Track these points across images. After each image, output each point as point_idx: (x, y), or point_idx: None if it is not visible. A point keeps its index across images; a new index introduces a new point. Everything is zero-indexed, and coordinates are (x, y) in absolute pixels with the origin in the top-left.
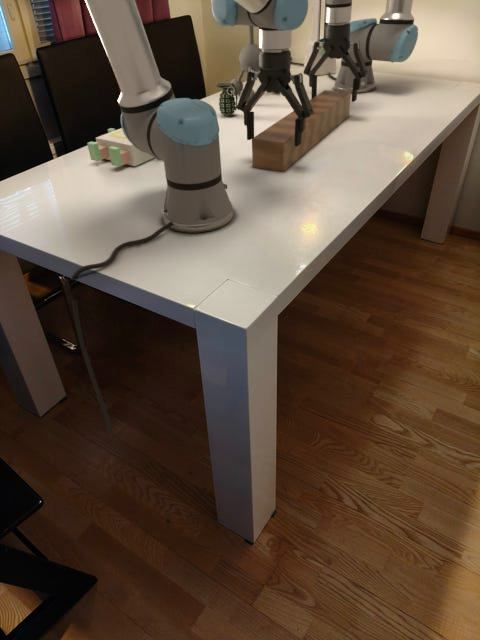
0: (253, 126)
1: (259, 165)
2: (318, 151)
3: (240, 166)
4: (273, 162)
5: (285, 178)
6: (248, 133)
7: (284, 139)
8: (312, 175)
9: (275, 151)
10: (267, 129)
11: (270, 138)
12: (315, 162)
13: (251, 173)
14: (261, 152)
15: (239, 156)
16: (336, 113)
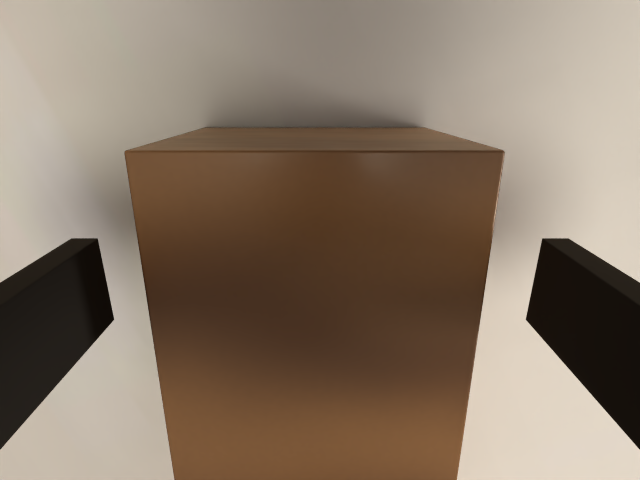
0: (583, 369)
1: (377, 128)
2: None
3: (509, 110)
4: (269, 132)
5: (132, 20)
6: (587, 261)
7: (168, 243)
8: (10, 138)
9: (237, 138)
10: (448, 430)
11: (314, 222)
12: (111, 326)
13: (388, 16)
14: (372, 137)
15: None
16: None
